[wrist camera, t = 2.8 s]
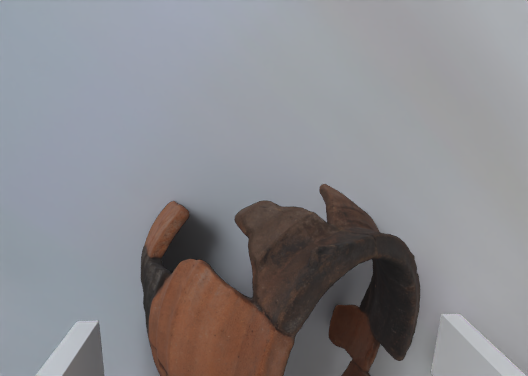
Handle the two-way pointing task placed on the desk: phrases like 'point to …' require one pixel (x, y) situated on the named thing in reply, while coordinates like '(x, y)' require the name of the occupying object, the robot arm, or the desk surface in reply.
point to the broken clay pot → (278, 292)
